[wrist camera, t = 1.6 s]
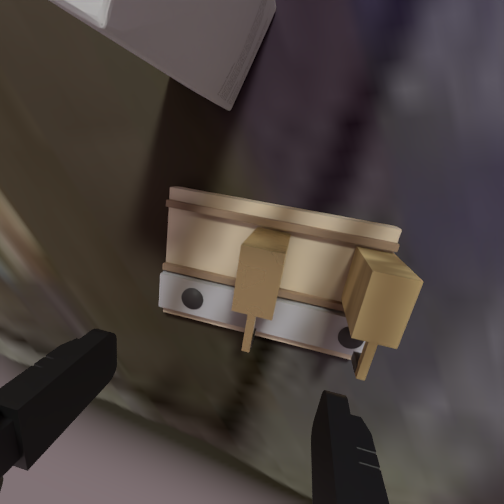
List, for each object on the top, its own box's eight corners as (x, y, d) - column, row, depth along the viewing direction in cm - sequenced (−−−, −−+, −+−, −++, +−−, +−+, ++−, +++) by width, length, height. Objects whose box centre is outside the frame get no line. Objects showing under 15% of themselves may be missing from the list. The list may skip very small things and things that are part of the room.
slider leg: (291, 233, 23) (285, 254, 17) (274, 316, 25) (264, 357, 20) (257, 227, 23) (240, 244, 18) (243, 308, 26) (225, 347, 20)
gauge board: (396, 226, 23) (435, 250, 16) (354, 351, 27) (370, 415, 20) (177, 186, 25) (127, 191, 18) (170, 304, 30) (126, 346, 23)
